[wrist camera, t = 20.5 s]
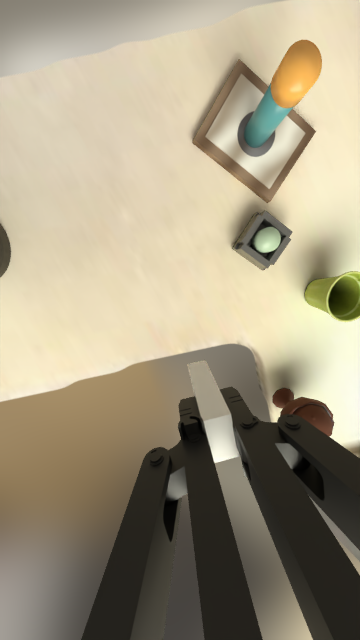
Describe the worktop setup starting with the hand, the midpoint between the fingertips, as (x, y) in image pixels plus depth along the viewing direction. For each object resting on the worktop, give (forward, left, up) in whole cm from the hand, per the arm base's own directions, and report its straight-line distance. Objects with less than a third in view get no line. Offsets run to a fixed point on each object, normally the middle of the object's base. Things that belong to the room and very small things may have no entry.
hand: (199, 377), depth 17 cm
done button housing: (+7, +21, -29) cm, 37 cm away
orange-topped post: (-5, +35, -28) cm, 45 cm away
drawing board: (-5, +35, -29) cm, 46 cm away
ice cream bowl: (+35, -5, -30) cm, 46 cm away
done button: (+7, +21, -28) cm, 36 cm away
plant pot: (+25, +20, -30) cm, 44 cm away
